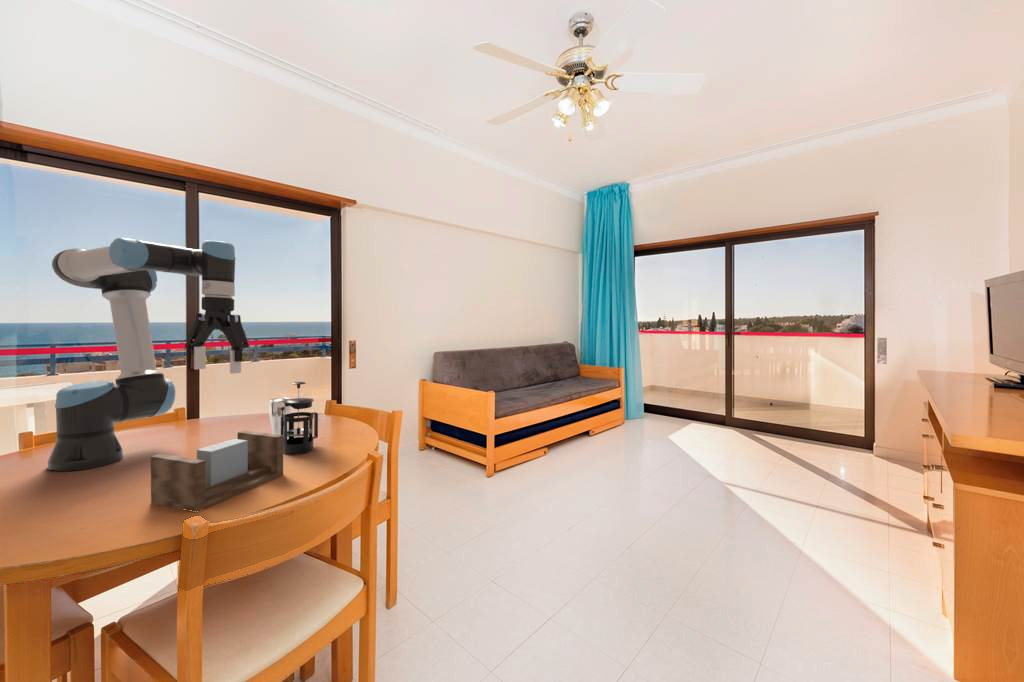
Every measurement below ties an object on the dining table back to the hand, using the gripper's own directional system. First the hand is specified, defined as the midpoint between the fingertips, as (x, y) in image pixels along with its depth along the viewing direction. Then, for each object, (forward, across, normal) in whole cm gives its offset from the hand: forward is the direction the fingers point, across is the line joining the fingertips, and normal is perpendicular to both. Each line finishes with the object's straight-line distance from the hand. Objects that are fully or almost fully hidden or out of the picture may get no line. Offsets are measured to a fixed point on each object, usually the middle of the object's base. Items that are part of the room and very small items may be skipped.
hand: (217, 371), depth 115 cm
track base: (+28, +15, -9) cm, 33 cm away
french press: (+28, +9, +22) cm, 37 cm away
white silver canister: (+29, -5, +27) cm, 40 cm away
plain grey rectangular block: (+27, +15, -9) cm, 32 cm away
